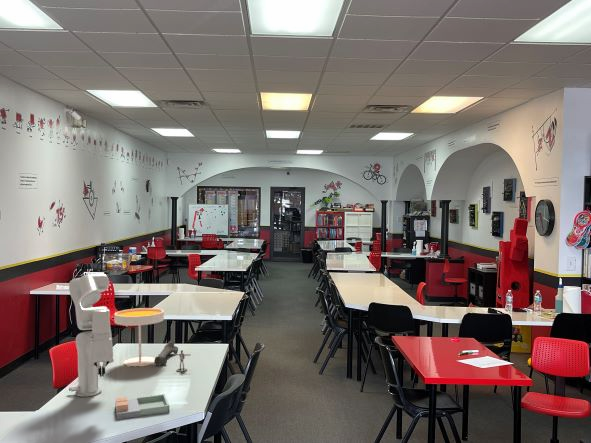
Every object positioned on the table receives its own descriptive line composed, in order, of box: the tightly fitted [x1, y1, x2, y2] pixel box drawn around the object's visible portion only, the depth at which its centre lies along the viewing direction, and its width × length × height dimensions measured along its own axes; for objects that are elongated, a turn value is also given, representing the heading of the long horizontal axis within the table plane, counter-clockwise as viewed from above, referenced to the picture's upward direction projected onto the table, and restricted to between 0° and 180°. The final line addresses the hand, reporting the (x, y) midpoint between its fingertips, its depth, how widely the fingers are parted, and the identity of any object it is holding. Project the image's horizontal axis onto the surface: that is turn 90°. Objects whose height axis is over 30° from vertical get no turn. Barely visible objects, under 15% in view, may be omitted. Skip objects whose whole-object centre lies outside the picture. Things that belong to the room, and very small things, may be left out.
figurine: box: [172, 349, 191, 373], centre depth 313 cm, size 11×7×12 cm, turn 81°
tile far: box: [115, 396, 128, 402], centre depth 250 cm, size 5×5×2 cm
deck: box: [114, 398, 141, 420], centre depth 248 cm, size 10×17×2 cm, turn 21°
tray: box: [136, 393, 170, 417], centre depth 253 cm, size 13×17×3 cm
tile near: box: [115, 401, 128, 411], centre depth 245 cm, size 5×5×2 cm
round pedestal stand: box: [113, 307, 165, 368], centre depth 332 cm, size 30×30×31 cm
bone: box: [154, 340, 179, 367], centre depth 338 cm, size 32×10×9 cm, turn 179°
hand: (101, 375), depth 247 cm, fingers closed
